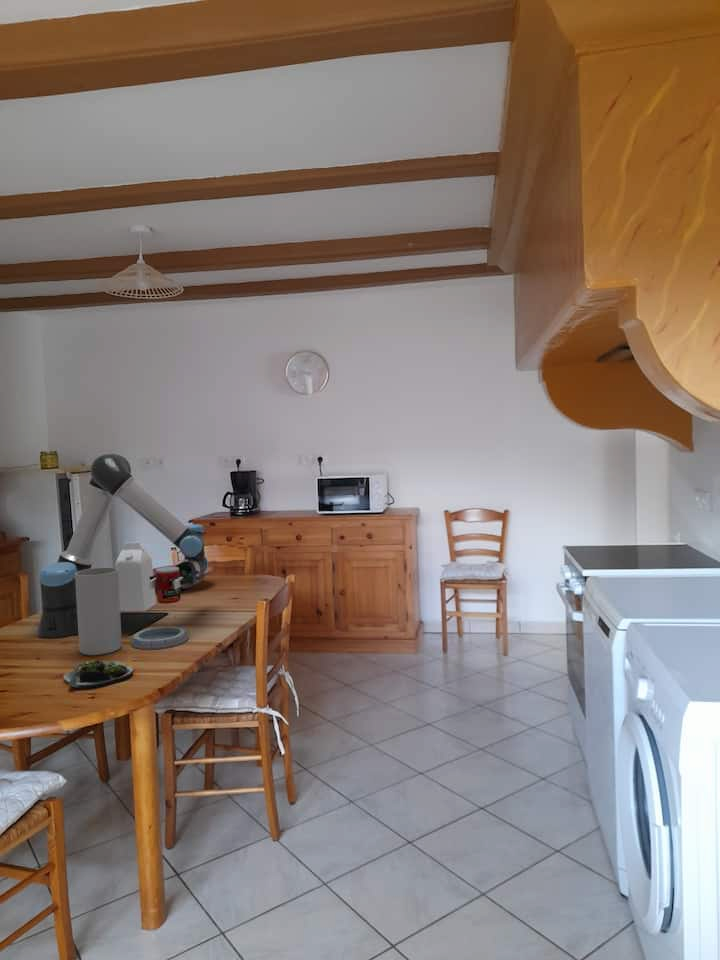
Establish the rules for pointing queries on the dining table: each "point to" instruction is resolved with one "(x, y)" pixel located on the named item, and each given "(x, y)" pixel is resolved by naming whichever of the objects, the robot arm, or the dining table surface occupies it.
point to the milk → (135, 578)
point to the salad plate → (97, 674)
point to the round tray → (159, 638)
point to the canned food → (167, 585)
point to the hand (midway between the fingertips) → (162, 585)
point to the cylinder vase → (98, 611)
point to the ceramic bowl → (189, 582)
